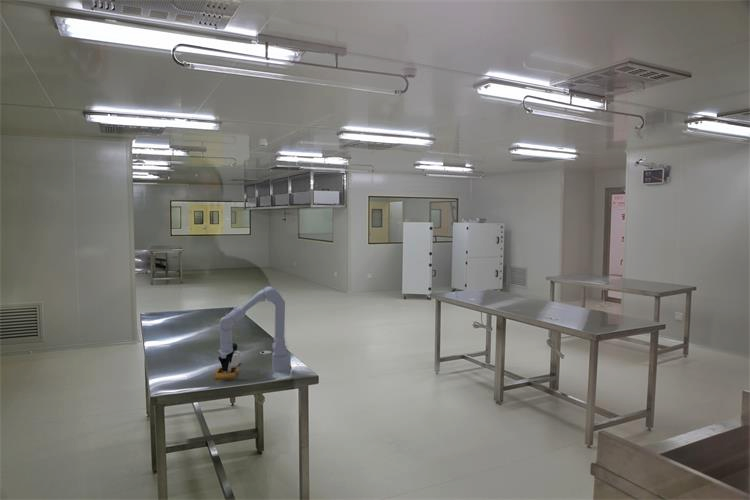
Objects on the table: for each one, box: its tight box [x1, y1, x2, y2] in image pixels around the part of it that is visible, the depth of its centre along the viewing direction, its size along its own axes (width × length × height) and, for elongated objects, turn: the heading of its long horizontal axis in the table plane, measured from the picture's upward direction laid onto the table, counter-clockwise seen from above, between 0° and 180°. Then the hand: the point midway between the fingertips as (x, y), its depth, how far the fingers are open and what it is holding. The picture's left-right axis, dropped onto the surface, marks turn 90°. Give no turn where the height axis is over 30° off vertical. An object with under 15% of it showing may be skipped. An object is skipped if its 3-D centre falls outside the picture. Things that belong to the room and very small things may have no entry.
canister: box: [223, 362, 232, 373], centre depth 238 cm, size 4×4×7 cm
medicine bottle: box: [231, 342, 241, 367], centre depth 255 cm, size 7×7×12 cm
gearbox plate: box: [213, 366, 261, 381], centre depth 238 cm, size 20×13×4 cm, turn 96°
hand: (226, 368), depth 238 cm, fingers open, 7 cm apart
